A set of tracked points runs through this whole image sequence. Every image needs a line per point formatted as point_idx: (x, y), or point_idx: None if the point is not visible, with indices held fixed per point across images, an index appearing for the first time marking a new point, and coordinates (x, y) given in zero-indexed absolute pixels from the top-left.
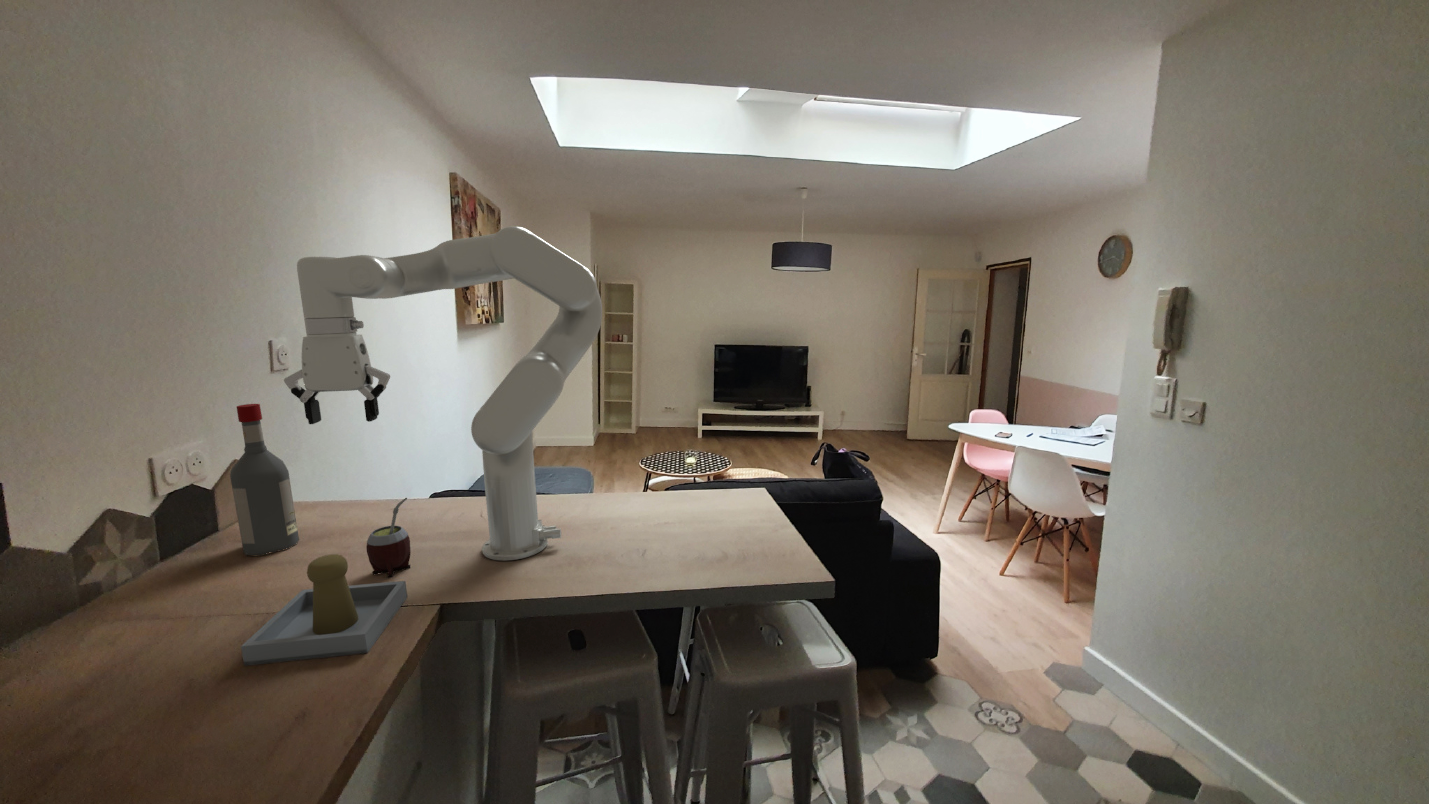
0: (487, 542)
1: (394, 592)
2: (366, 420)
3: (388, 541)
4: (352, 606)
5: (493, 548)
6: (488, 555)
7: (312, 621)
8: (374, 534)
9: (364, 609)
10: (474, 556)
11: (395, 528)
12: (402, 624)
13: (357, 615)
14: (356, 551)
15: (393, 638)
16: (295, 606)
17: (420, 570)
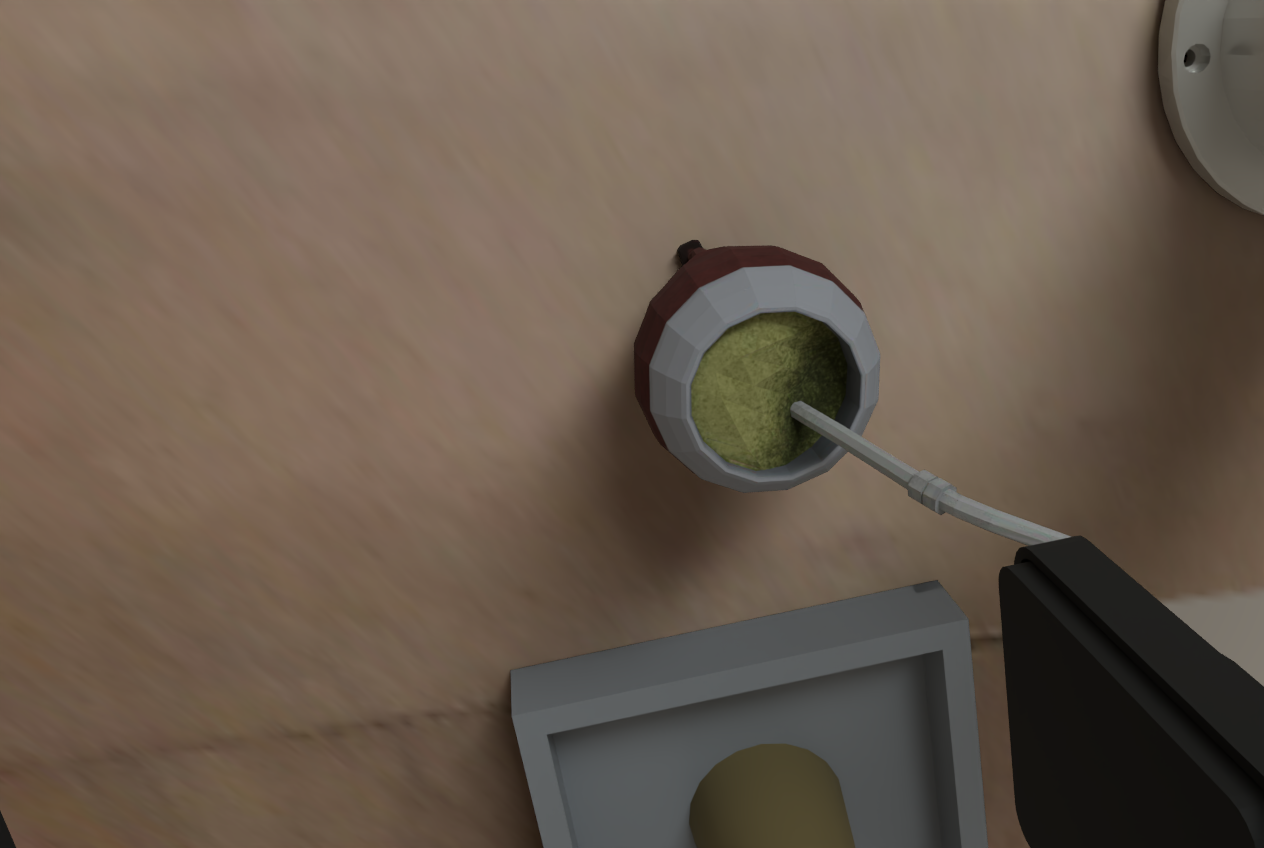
0: (1192, 26)
1: (967, 716)
2: (1022, 831)
3: (824, 472)
4: (853, 839)
5: (1260, 146)
6: (1228, 195)
7: (657, 801)
8: (703, 421)
9: (820, 712)
10: (1120, 146)
11: (790, 315)
12: (1010, 766)
13: (835, 779)
14: (329, 57)
15: (1017, 844)
16: (563, 801)
17: (879, 321)
